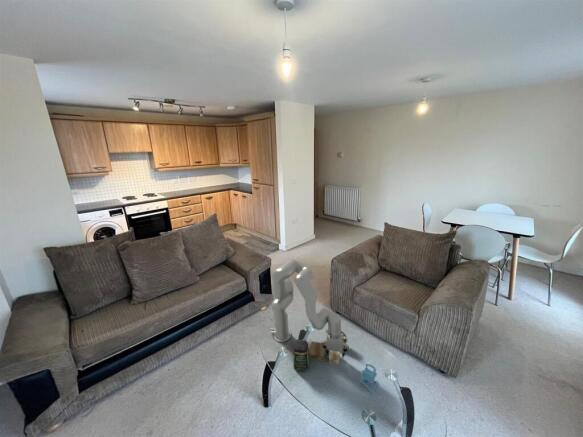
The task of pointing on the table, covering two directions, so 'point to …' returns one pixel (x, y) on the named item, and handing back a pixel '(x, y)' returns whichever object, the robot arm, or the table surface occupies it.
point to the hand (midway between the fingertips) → (335, 355)
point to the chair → (369, 376)
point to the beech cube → (334, 357)
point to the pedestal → (317, 351)
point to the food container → (344, 337)
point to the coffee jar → (301, 355)
